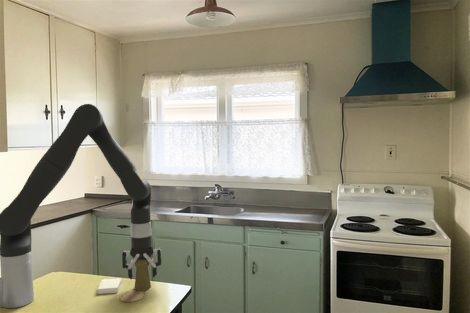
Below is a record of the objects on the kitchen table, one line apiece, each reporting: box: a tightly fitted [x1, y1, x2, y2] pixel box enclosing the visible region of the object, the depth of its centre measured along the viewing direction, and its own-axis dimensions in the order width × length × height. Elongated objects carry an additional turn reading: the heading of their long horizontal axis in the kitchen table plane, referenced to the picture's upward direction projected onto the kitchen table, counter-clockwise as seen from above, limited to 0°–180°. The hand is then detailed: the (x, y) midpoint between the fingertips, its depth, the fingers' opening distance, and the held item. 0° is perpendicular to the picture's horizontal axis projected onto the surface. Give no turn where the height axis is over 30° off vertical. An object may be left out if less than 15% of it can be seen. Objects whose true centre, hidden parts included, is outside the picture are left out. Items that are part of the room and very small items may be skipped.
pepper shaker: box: [134, 259, 152, 292], centre depth 137 cm, size 6×6×11 cm
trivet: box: [119, 290, 145, 303], centre depth 129 cm, size 8×8×1 cm
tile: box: [97, 277, 123, 295], centre depth 137 cm, size 7×2×9 cm
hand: (142, 277), depth 138 cm, fingers open, 7 cm apart
